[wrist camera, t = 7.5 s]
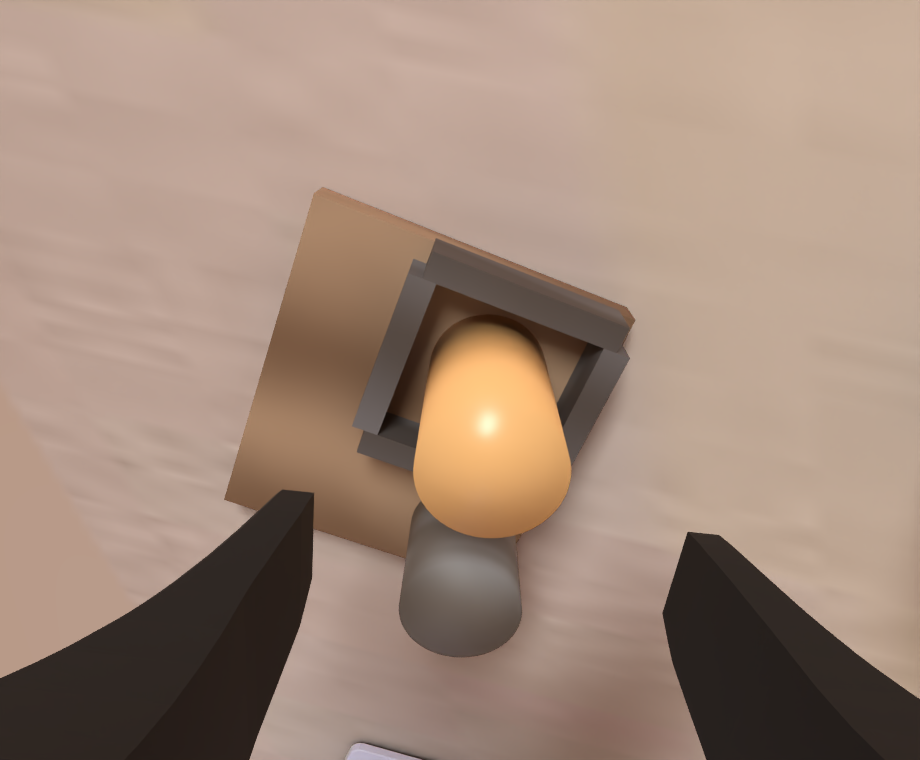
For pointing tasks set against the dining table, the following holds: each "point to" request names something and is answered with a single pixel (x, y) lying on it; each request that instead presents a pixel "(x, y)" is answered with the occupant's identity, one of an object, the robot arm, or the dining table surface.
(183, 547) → the dining table surface
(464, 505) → the orange capsule
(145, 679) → the robot arm
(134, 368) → the dining table surface
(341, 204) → the housing
